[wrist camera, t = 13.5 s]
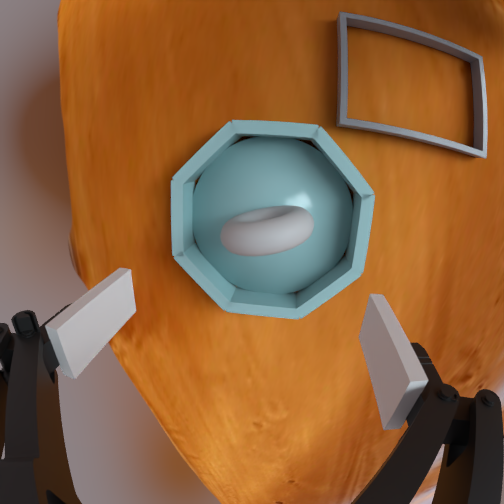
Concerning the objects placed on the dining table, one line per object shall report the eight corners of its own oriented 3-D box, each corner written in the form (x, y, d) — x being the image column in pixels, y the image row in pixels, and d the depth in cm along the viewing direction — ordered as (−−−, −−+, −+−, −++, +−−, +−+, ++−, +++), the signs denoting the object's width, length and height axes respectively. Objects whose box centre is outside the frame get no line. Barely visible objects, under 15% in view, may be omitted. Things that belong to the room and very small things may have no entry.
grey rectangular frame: (473, 60, 24) (482, 56, 21) (476, 157, 29) (486, 158, 26) (336, 19, 26) (339, 11, 24) (336, 126, 31) (339, 123, 29)
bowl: (369, 136, 31) (380, 133, 27) (346, 305, 38) (351, 322, 34) (186, 125, 33) (172, 121, 29) (186, 290, 41) (175, 304, 37)
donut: (233, 238, 36) (213, 267, 27) (228, 212, 35) (204, 232, 26) (312, 226, 35) (320, 252, 25) (308, 198, 34) (315, 214, 24)
